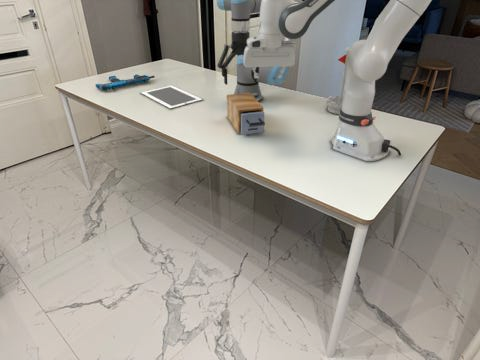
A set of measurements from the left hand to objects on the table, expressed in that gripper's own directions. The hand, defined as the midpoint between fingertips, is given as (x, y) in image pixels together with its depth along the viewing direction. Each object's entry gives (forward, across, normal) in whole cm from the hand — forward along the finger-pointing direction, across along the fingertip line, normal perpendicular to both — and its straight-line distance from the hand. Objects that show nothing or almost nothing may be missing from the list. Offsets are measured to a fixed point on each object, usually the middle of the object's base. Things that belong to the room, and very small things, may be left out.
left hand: (240, 82), depth 152 cm
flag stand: (+17, -50, +4) cm, 53 cm away
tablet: (+17, +28, -40) cm, 52 cm away
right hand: (-7, -6, +18) cm, 20 cm away
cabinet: (+17, 0, +6) cm, 18 cm away
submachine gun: (+17, +53, -73) cm, 92 cm away
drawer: (+16, 0, +13) cm, 21 cm away
